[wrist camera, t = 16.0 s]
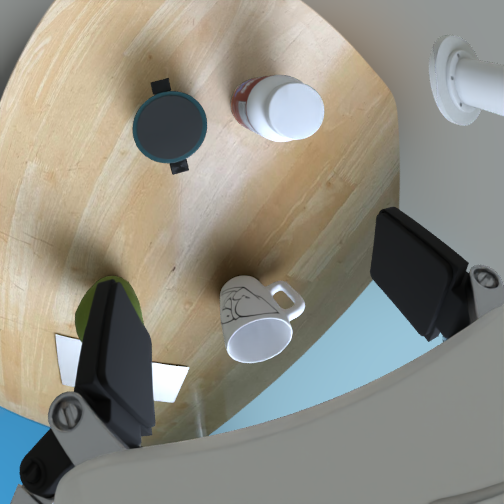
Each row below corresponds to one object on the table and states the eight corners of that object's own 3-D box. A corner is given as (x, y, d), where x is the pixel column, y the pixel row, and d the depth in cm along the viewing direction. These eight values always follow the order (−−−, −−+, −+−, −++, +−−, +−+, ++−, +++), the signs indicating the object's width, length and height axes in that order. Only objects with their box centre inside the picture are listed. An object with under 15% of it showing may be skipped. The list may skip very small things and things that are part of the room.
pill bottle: (275, 72, 27) (324, 66, 18) (288, 121, 30) (339, 137, 21) (222, 86, 26) (249, 82, 17) (238, 137, 30) (271, 159, 21)
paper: (63, 386, 43) (62, 390, 42) (51, 332, 36) (49, 337, 35) (177, 401, 53) (177, 405, 52) (193, 353, 46) (194, 358, 45)
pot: (192, 75, 25) (197, 70, 20) (207, 152, 30) (216, 165, 25) (131, 92, 24) (121, 91, 19) (150, 168, 29) (146, 184, 24)
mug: (278, 249, 40) (308, 295, 31) (291, 290, 44) (318, 336, 36) (202, 283, 39) (215, 336, 31) (224, 320, 44) (240, 370, 36)
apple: (150, 305, 39) (151, 370, 29) (96, 310, 37) (86, 374, 27) (138, 253, 34) (132, 317, 25) (79, 261, 32) (57, 323, 23)
